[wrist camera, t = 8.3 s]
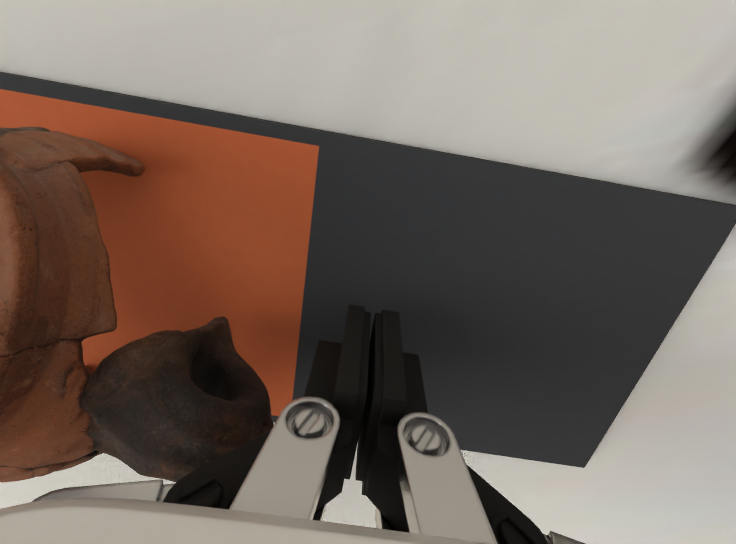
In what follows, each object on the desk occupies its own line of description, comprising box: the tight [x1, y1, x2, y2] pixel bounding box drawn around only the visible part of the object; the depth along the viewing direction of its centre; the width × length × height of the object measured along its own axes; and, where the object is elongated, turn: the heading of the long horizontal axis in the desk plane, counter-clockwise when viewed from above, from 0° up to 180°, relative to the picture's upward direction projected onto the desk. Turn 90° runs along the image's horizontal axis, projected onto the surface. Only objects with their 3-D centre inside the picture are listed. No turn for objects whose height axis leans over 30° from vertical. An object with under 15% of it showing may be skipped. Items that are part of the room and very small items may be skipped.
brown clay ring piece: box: [0, 127, 274, 482], centre depth 11 cm, size 12×10×8 cm
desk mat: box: [0, 72, 736, 468], centre depth 13 cm, size 12×26×1 cm, turn 80°
